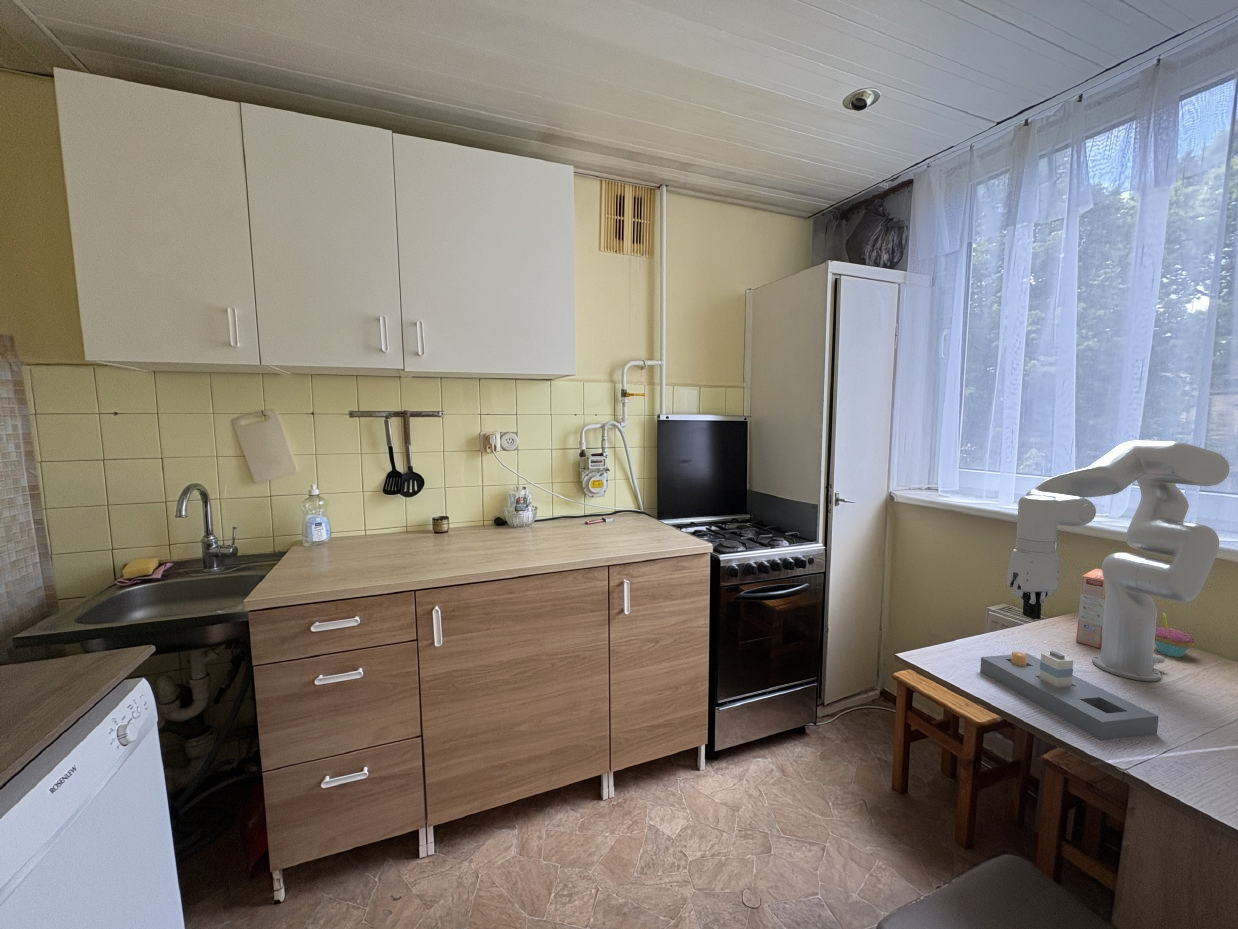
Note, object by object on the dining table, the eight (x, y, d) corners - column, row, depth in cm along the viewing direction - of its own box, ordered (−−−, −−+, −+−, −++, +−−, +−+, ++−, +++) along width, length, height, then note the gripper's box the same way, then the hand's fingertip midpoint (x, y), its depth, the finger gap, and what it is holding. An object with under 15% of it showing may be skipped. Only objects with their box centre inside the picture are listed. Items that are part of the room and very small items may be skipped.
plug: (1052, 691, 116) (1055, 649, 115) (1070, 701, 112) (1073, 657, 111) (1038, 692, 116) (1041, 650, 115) (1055, 702, 112) (1058, 658, 111)
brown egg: (1017, 673, 124) (1018, 651, 124) (1028, 679, 121) (1030, 656, 121) (1007, 674, 124) (1008, 651, 124) (1018, 680, 121) (1019, 657, 121)
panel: (1026, 669, 128) (1027, 653, 127) (1156, 736, 100) (1158, 716, 100) (980, 673, 126) (981, 657, 125) (1100, 742, 98) (1102, 722, 98)
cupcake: (1148, 652, 137) (1151, 612, 136) (1147, 643, 142) (1151, 604, 142) (1194, 663, 130) (1198, 621, 130) (1192, 653, 136) (1196, 613, 135)
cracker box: (1102, 650, 138) (1108, 580, 137) (1075, 642, 143) (1080, 575, 142) (1116, 638, 146) (1121, 572, 144) (1089, 631, 151) (1094, 567, 149)
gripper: (1047, 541, 122) (1043, 610, 124) (994, 543, 121) (991, 613, 122) (1078, 548, 115) (1073, 621, 116) (1022, 550, 113) (1018, 625, 115)
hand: (1031, 617), depth 119 cm, fingers closed
